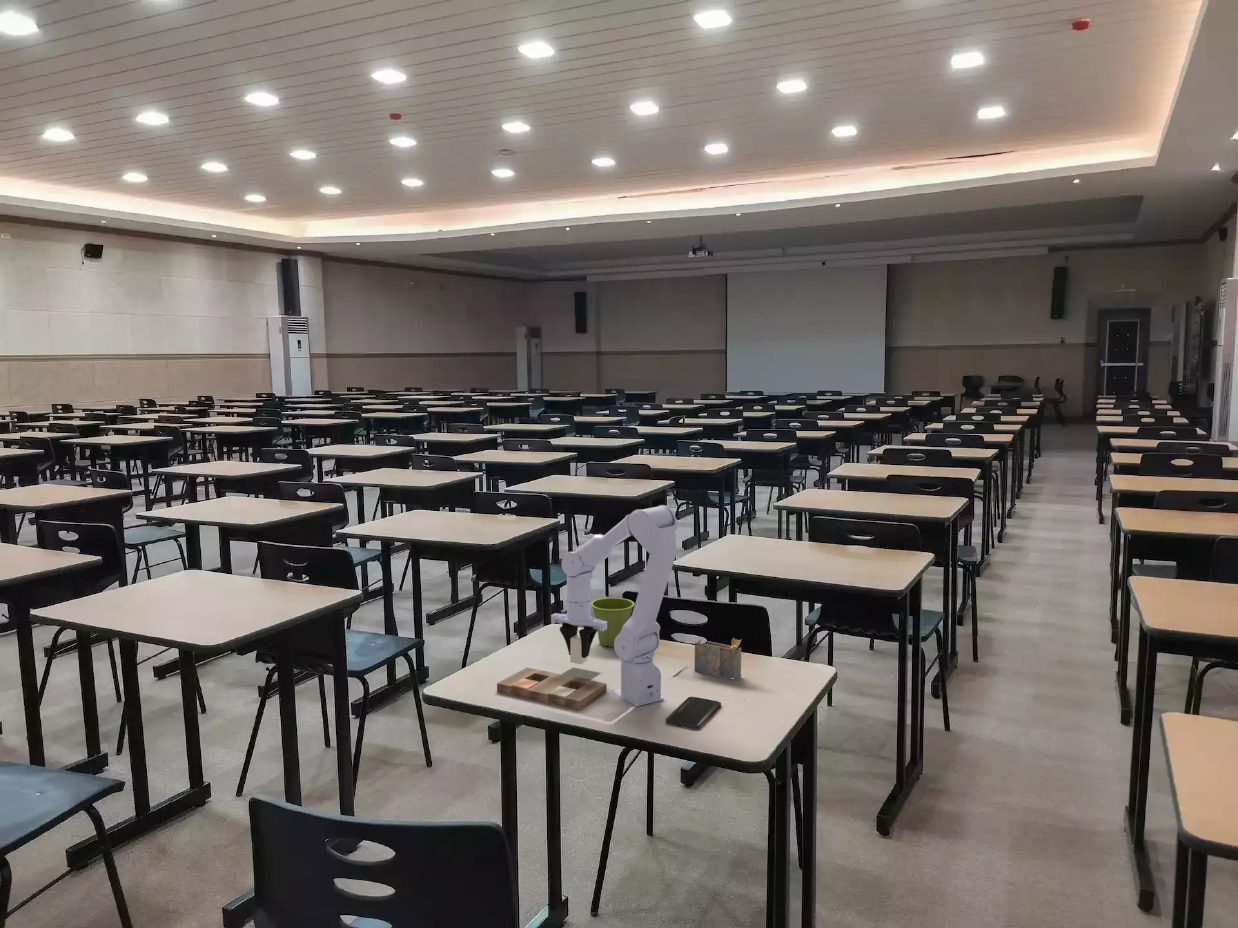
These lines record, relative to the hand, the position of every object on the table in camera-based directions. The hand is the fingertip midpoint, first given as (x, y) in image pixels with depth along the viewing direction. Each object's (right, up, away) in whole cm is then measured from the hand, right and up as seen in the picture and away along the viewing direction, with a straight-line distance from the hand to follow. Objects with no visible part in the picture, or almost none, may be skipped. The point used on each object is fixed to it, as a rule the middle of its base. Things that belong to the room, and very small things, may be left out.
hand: (578, 655), depth 202 cm
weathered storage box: (+34, -6, +4) cm, 35 cm away
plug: (0, -2, 0) cm, 2 cm away
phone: (+26, -9, -21) cm, 34 cm away
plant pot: (+8, -3, +27) cm, 28 cm away
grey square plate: (0, -6, +1) cm, 6 cm away
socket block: (-6, -7, -10) cm, 13 cm away
